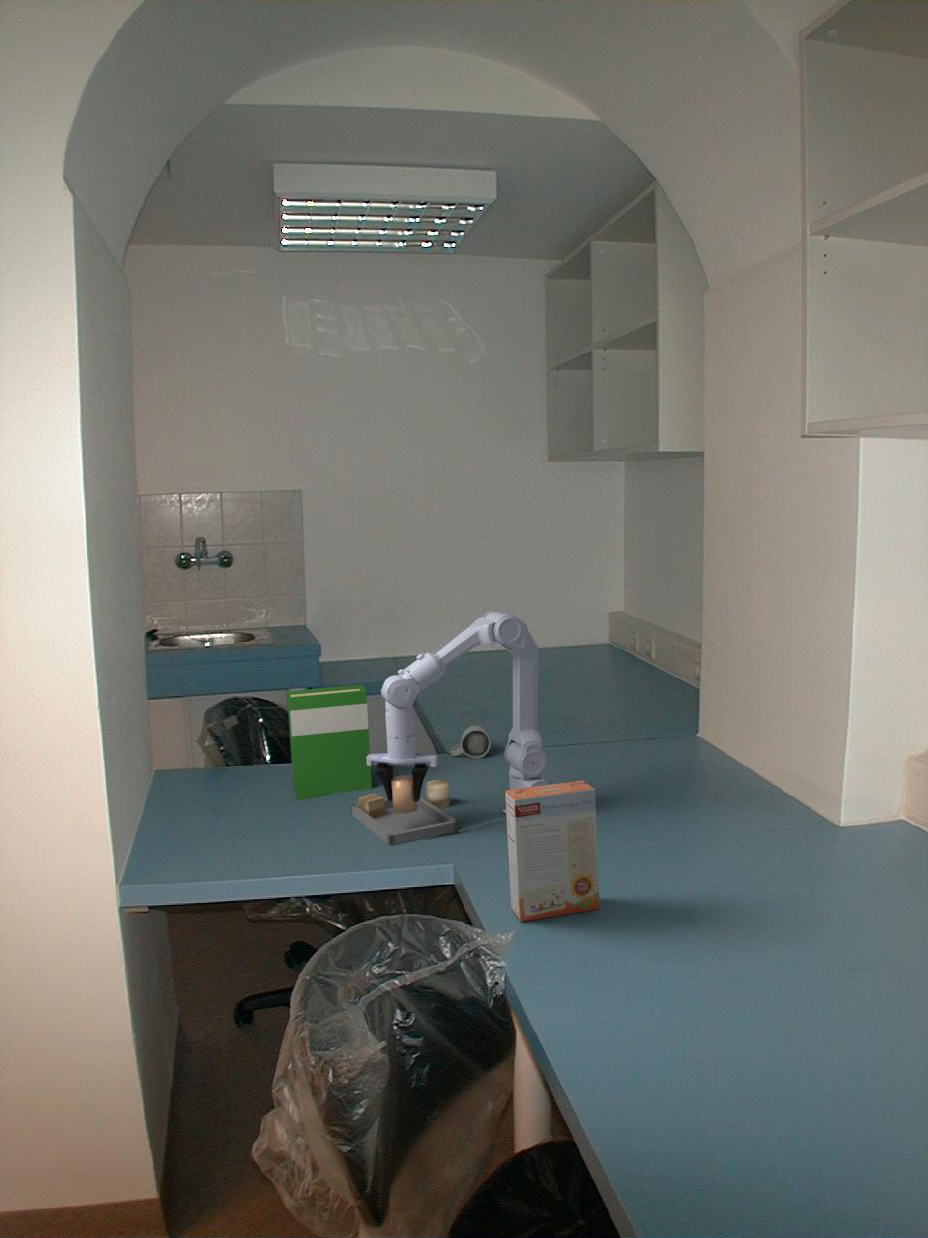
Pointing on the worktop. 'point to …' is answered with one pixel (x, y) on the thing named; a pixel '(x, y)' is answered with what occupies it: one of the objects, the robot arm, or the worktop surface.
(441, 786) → the beige oval piece
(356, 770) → the hardback book
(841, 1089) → the worktop surface
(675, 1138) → the worktop surface
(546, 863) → the cracker box
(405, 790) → the tan rounded cylinder
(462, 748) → the ceramic mug
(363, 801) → the oak cube
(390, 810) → the tray
